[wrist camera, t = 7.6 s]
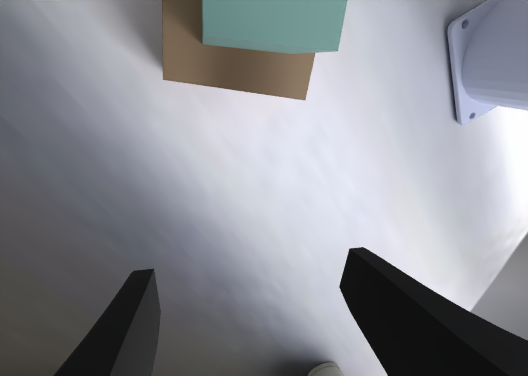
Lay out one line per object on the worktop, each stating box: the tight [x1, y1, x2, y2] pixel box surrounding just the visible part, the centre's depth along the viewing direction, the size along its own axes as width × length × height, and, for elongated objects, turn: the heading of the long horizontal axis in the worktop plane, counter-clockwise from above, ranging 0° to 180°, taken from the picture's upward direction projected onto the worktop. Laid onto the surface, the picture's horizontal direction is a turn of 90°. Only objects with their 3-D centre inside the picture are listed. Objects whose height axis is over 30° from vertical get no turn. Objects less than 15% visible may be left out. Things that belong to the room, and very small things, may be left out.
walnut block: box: [162, 0, 315, 100], centre depth 13 cm, size 8×8×4 cm
